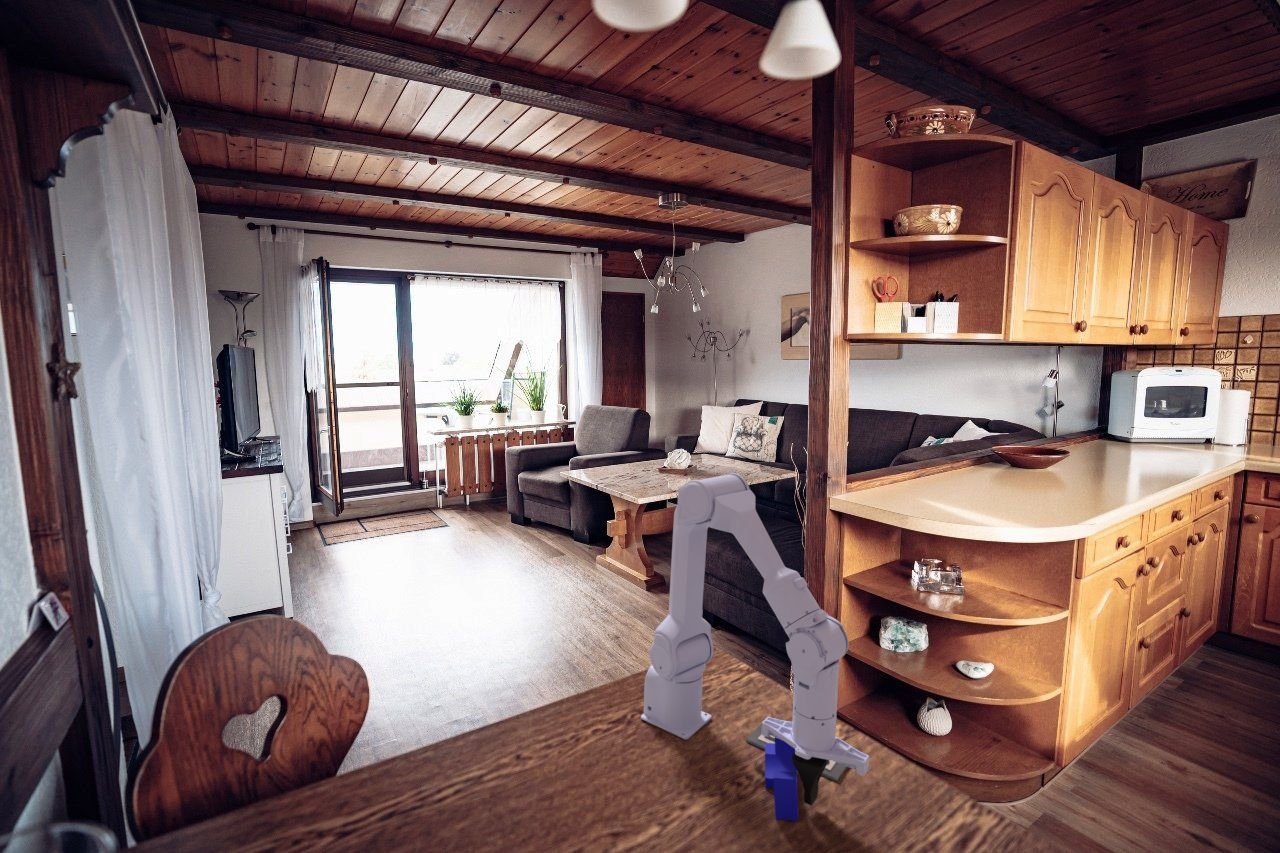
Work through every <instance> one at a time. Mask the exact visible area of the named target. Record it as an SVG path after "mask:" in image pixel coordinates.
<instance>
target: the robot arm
mask: <svg viewBox="0 0 1280 853" xmlns="http://www.w3.org/2000/svg"><path fill="white" fill-rule="evenodd" d="M672 526H673V529H672V543H671V544H672V546H671V547H672V548H671V563H670V564H671V565H670V566H671V567H670V579H669V580H670V583H669V584H670V585H669V600H668V601H669V602H668V614H667V616H666V617H665V618H664V619H663V621H662V622H660V624H659V625H658V626H657V627H656V629H655V630H654V638H653V641H652V644H651V645H650V648H649V659H650V664H651V665H650V666H649V668H648V670H647V672H646V674H645V677H644V683H643V684H644V687H643V689H644V690H643V713H642V714H641V715H640V719H641V720H643V721H646V722H647V723H648V724H651V725H653V726H656V727H658V728H660V729H662V730H663V731H666V732H668V733H669V734H673V735H675V736H677V737H679V738H681V739H683V740H689V739H690V738H691V737H692V736H693V735H694V734H695V733H697V732H698V731H699V730H700V729H701V728H702V727H704V725H705V724H707V723H708V722H709V721H710V720H712V715H711V714H710V713H708V712H706V711H703V710H702V704H703V679H704V678H703V676H704V674H703V673H704V671H705V670H707V663H708V662H710V661H711V659H712V658H713V656H714V652H715V651H714V650H715V649H714V644H713V640H712V634H711V633H712V632H711V629H712V625H711V624H710V623H709V622H708V621H707V620H706V619H705V618H703V617H702V616H703V603H704V586H705V570H706V557H707V556H706V554H707V539H708V529H709V528H711V529H714V530H718V531H722V532H726V533H730V534H732V535H733V536H734V537H735V539H736V540H737V542H738V543H739V544H740V546H741V548H742V549H743V550H744V552H745V554H746V555H747V556H748V557H749V559H750V561H751V562H752V564H753V565H754V567H755V568H756V569H757V571H758V572H759V573H760V575H761V577H762V578H763V579H764V580H763V581H764V582H763V586H762V587H763V588H762V594H763V596H764V597H765V600H766V601H767V603H768V604H769V606H770V608H771V610H772V611H773V613H774V614H775V616H776V618H777V619H778V621H779V622H780V625H781V626H782V628H783V630H784V632H785V634H786V635H787V637H788V638H789V640H788V641H787V642H785V647H786V653H787V656H788V658H789V660H790V661H791V666H792V672H791V673H792V675H793V678H794V679H793V702H792V703H793V704H792V720H791V721H789V720H784V719H783V720H782V719H779V718H774V717H771V716H769V715H768V716H767V717H766V718H764V720H763V721H762V722H761V723H762V733H761V735H763V736H766V737H769V736H770V735H771V736H773V737H776V738H778V739H781V740H783V741H785V742H786V743H787V744H789V745H790V746H792V747H793V748H794V749H795V753H794V754H793V755H792V763H793V764H794V766H795V767H796V769H797V774H798V775H799V777H800V781H801V784H802V787H803V791H804V792H803V802H804V804H807V805H809V806H810V807H811V806H813V805H814V804H815V801H816V800H817V799H818V795H819V794H818V793H819V782H820V779H821V778H822V773H823V771H824V769H825V767H826V765H827V764H828V762H829V760H832V761H835V762H837V763H840V764H842V765H845V766H847V768H850V769H851V770H852V769H853V770H854V771H855V773H856V775H859V776H861V777H865V775H866V774H867V772H868V770H869V768H870V767H869V766H870V755H868V753H867V754H866V753H864V752H862V751H860V750H859V749H856V748H855V747H854V746H852V745H851V744H849V743H847V742H846V741H844V740H842V739H841V738H839V737H838V736H837V732H836V731H837V712H838V693H839V690H838V689H839V674H840V672H839V671H840V661H838V660H840V659H842V658H843V657H844V656H845V655H846V654H847V653H848V650H849V646H850V645H849V638H848V635H847V632H846V630H845V629H844V625H843V624H842V623H841V622H840V621H839V620H837V619H836V618H835V617H833V616H831V615H829V614H828V613H827V612H826V610H823V609H822V608H821V607H820V606H819V604H818V602H817V601H816V599H815V598H814V596H813V594H812V593H811V591H810V589H809V588H808V582H807V581H806V579H805V578H804V577H801V575H800V573H799V572H798V571H797V570H794V569H791V568H789V567H787V566H785V564H784V562H783V560H782V557H781V556H780V554H779V552H778V551H777V550H778V549H776V547H775V545H774V543H773V540H772V539H771V537H770V535H769V533H768V531H767V530H766V527H765V526H764V523H763V521H762V520H761V518H760V516H759V514H758V512H757V509H756V495H755V493H754V492H753V491H752V490H751V488H750V486H749V483H748V482H747V480H746V479H745V477H743V475H741V474H739V473H737V472H736V473H735V472H729V473H727V474H724V475H719V476H713V477H708V478H703V479H693V480H689V481H687V482H686V483H685V484H683V485H681V486H679V488H678V490H677V504H676V507H675V510H674V512H673V525H672Z"/></svg>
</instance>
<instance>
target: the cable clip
mask: <svg viewBox="0 0 1280 853" xmlns="http://www.w3.org/2000/svg"><path fill="white" fill-rule="evenodd" d="M794 753H795V749H794V748H793V747H792V746H790V745H789V744H787V743H786V742H785V741H783V740H781V739H778V738H776V737H775V743H765V750H764V785H765V786H764V787H765V788H767V789H773V794H774V812H775V815H774V816H775V820H786V821H795V822H799V801H798V800H799V799H798V798H799V796H798V795H799V794H798V771H797V769H796V767H795V766H794V764H793V763H792V755H793V754H794Z"/></svg>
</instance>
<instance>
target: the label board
mask: <svg viewBox="0 0 1280 853" xmlns="http://www.w3.org/2000/svg"><path fill="white" fill-rule="evenodd" d="M761 733H762V722H761V723H760V724H759V725H758V726H757V727H756V728H755V729H754V730H753V732H751V734H749V735H748V737H746V739H745V742H746V743H748V744H750V745H752V746H755V747H756V748H760V749H762V750H764V751H765V743H775V737H773V736H771V735H770V736H769V737H766V736H763V735H761ZM847 769H848V767H847V766H845V765H842V764H840V763H837V762H835V761H832V760H829V762H828V764H827V765H826V767H825V769H824V771H823V773H822V775H821V777H822V776H823V777H825V778H827V779H829V780H831V781H834V782H835V783H838V782H839V781H840V779H841V778H842V776H843V775H844V773H845V772H846V770H847Z"/></svg>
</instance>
